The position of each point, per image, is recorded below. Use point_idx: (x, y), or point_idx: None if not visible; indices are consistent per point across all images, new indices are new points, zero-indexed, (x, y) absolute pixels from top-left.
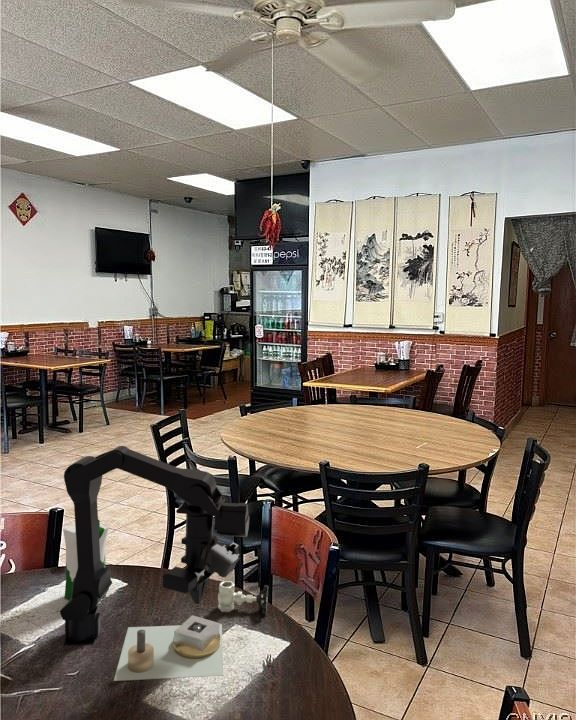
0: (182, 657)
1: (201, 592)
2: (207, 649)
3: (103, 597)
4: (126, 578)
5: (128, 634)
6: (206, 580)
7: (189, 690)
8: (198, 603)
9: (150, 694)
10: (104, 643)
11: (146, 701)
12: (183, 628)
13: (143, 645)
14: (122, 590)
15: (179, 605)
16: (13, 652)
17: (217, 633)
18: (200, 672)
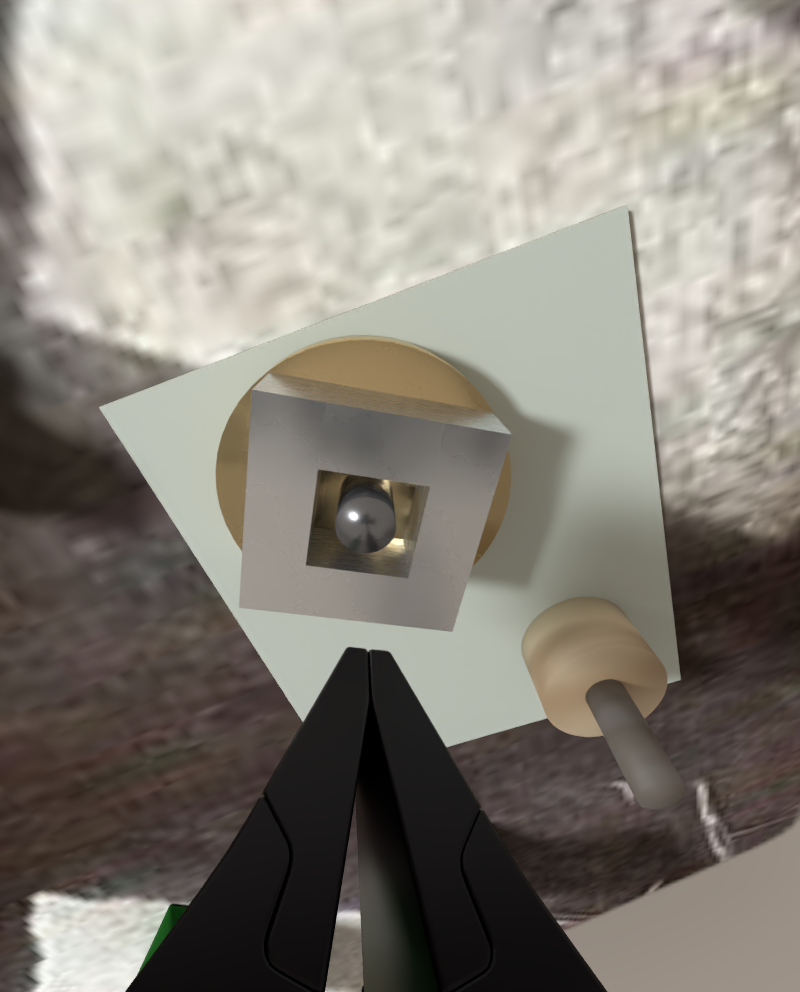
0: None
1: (398, 771)
2: (466, 387)
3: (182, 908)
4: (4, 912)
5: None
6: (258, 986)
7: (734, 369)
8: (393, 660)
9: (751, 528)
10: None
11: (794, 524)
12: (405, 598)
13: (636, 711)
14: (95, 887)
15: (56, 682)
16: None
17: (293, 379)
18: (610, 362)
